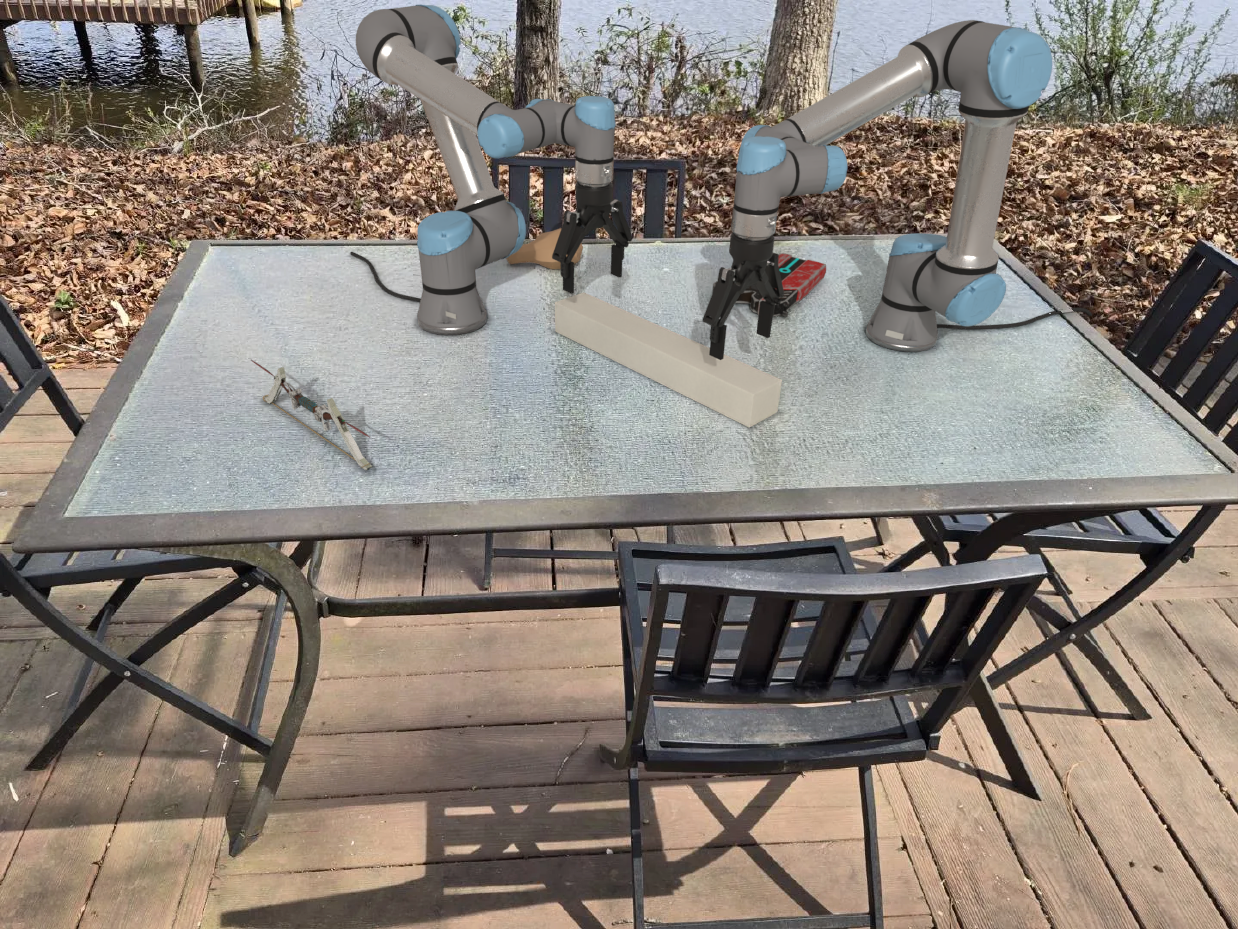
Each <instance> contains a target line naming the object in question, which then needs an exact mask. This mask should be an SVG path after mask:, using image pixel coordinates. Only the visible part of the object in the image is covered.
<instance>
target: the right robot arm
mask: <svg viewBox="0 0 1238 929" xmlns="http://www.w3.org/2000/svg"><path fill="white" fill-rule="evenodd" d="M1052 72H1053V55H1052V51H1051V48H1050V46H1049V44H1048V43H1047V42H1046V40H1045V38H1044V37H1043V36H1041V35H1040V34H1039V33H1037V32H1034V31H1030V30H1028V29H1026V28H1022V27H1021V26H1011V25H1005V24H997V23H992V22H985V21H982V20H977V19H976V20H975V19H970V20H969V19H968V20H962V21H958V22H954V23H951V24H947V25H945V26H943V27H940V28H938V29H935V30H933V31H931V32H928V33H926V34H925V35H923V36H921V37H919V38H917V39H915V40H913V41H911V42H909V43H908V44H905V45H904V46H902V47H901V48H900V49H899V51H898V53H897V56H895V58H893V59H891V60H889V61H888V62H887V61H886V63H884V64H882V65H879V67H877V68H875V69H873V70H872V71H870V72H868V73H866V74H864V75H863V76H861V77H859V78H857V79H855V80H854V81H852V82H850V83H847V85H845V86H842V87H841V88H839V89H838V90H836V91H834V92H832V93H831V94H829V95H826V96H825V97H823V98H822V99H819V100H818V101H817V102H814V103H813V104H811V105H809V106H807V107H806V108H804V109H802V110H800V111H798V112H797V113H795V114H793V115H791V116H790V117H787V118H786V119H783V120H782V121H780V122H779V123H776V124H775V125H773V126H771V125H768V124H767V125H766V124H765V125H764V124H757V125H754V126H752V127H750V128H749V129H748V130H747V131H746V132H745V133H744V135H743V137H742V139H741V143H740V147H739V152H738V158H737V163H736V176H735V185H734V186H735V189H734V197H733V206H732V217H731V222H730V223H731V225H730V229H731V234H730V237H729V246H728V248H729V249H728V252H729V255H730V256H731V258H732V264H731V266H730V267H729V268H726V267H723V266H722V267H720V268H719V269H718V275H717V283H716V286H715V288H714V291H713V293H712V292H711V296H710V299H709V301H708V304H707V306H706V309H705V312H704V314H703V317H702V322H703V323H705V324H707V325H709V326H710V331H709V342H710V343H709V348H710V352H709V355H710V356H713V357H715V358H717V359H719V360H722V359H723V358H724V354H725V347H726V336H727V327H728V325H727V324H725V323H726V321H727V319H728V317H729V315H730V314H731V313H732V310H733V308H734V306H735V305H736V304H737V303H736V301H737V299H738V297H739V296H740V294H743V293H744V291H745V290H746V288H749V287H750V286H751V285H756V286H757V288H758V290H759V292H760V293H761V295H762V297H763V299H764V300H765V301H760V307H759V315H758V314H757V315H758V316H757V324H756V332H755V334H756V335H759V336H760V337H764V338H765V339H769V338H771V334H772V333H771V332H772V325H773V318H774V316H773V315H774V307H775V304H777V305H779V304H780V303H781V299H779V297H780V298H782V297H783V296H784V290H783V285H782V280H781V276H780V271H779V266H778V260H779V255H778V254H779V253H776V252H774V247H775V233H776V228H777V220H778V211H779V207H780V201H781V198H786V197H795V196H805V195H816V194H819V195H822V194H824V193H828V192H829V193H830V192H834V191H837V190H839V189H840V188H841V187H842V186H843V185H844V183H845V181H846V179H847V174H848V173H847V171H848V167H849V166H848V160H847V156H846V154H845V152H844V150H843V149H842V148H841V147H840V146H837V145H829V144H831V143H833V142H834V141H836V140H838V139H840V138H841V137H843V136H845V135H847V134H849V133H851V132H853V131H855V130H856V129H858V128H860V127H861V126H863V125H865V124H867V123H868V122H870V121H872V120H873V119H875V118H877V117H879V116H881V115H883V114H885V113H886V112H888V111H890V110H891V109H893V108H895V107H897V106H899V105H901V104H902V103H904V102H906V101H907V100H909V99H911V98H913V97H916V98H924V97H926V96H928V95H929V94H931V93H933V92H936V91H942V90H952V91H955V92H957V93H960V95H959V96H960V98H959V103H958V114H960V115H961V116H962V118H963V119H964V121H965V122H964V127H963V134H962V141H961V145H960V146H961V147H960V154H959V159H958V165H957V166H958V167H957V172H956V178H955V183H954V184H955V185H954V191H953V197H952V203H951V210H950V215H949V221H948V226H947V227H948V228H947V234H946V236H945V235H940V234H934V233H926V232H925V233H922V232H921V233H919V232H917V233H907V234H902V235H899V236H898V237H896V238H895V239H894V241H893V242H892V245H891V250H890V253H889V254H888V261H887V266H886V271H885V277H884V282H883V288H882V292H881V293H882V294H881V297H880V302H879V303H878V305H877V307H876V309H874V312H873V313H872V314H871V316H870V319H869V320H868V322H867V325H866V330H865V335H866V337H867V339H869V340H870V341H871V342H872V343H874V344H876V345H877V346H880V347H883V348H885V349H888V350H893V351H896V352H905V353H918V352H919V353H920V352H924V351H928V350H930V349H932V348H934V347H935V346H936V345H937V340H938V336H939V335H938V333H939V332H938V329H947V330H948V329H949V330H965V331H966V330H974V331H975V330H992V329H993V330H998V329H1009V328H1010V329H1011V328H1018V327H1023V326H1027V325H1029V324H1032V323H1035V322H1037V321H1040V320H1043V319H1047V318H1049V317H1051V316H1056V315H1063V314H1064V313H1062V312H1061V311H1058V312H1056V310H1052V311H1049V312H1046V313H1043V314H1041V315H1037V316H1034V317H1032V318H1029V319H1027V320H1023V321H1019V322H1012V323H1000V324H999V323H997V324H982V325H981V323H983V322H984V321H986V320H987V319H988V318H990V317H991V316H992V315H993V314H994V313H995V312H996V311H997V310H998V309H999V307H1000V306H1001V304H1002V302H1003V300H1004V299H1005V296H1006V292H1007V283H1006V281H1005V280H1004V277H1003V276H1002V275H1000V274H999V273H997V270H998V264H999V253H997V251H996V250H995V249H994V248H993V247H994V246H993V245H994V242H995V237H996V231H997V225H998V221H999V215H1000V210H1001V205H1002V199H1003V194H1004V191H1005V190H1004V189H1005V184H1006V180H1007V173H1008V168H1009V164H1010V160H1011V152H1012V149H1013V143H1014V137H1015V134H1016V126H1017V123H1018V122H1019V120H1021V119H1022V118H1024V117H1025V116H1026V115H1027V114H1028V113H1029V108H1030V106H1032V105H1033V104H1034V103H1036V102H1037V101H1038V100H1039V99H1041V97H1042V91H1045V90H1046V89H1047V87H1048V85H1049V82H1050V79H1051V76H1052ZM734 281H735V283H736V285H738V286H736V285H734V284H733V283H734ZM775 288H776V289H775ZM1070 308H1071V309H1072V310H1073V311H1074V312H1073V313H1076V312H1077V313H1079V312H1082V313H1084V314H1086V315H1087V316H1089V317H1092V316H1093V313H1092V312H1091V311H1090V310H1089V309H1087V308H1085V307H1070ZM1049 313H1051V314H1049ZM937 314H939V315H941V316H943V317H944V318H946V320H947V321H948V322H952V323H955V324H946V323H943V324H942V323H938V321H937ZM979 324H980V325H979Z"/></svg>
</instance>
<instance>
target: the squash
mask: <svg viewBox="0 0 1238 929" xmlns="http://www.w3.org/2000/svg"><path fill="white" fill-rule="evenodd" d="M561 229H562V227H559V228H557V229H554V230H552V231H546V232H542V233H541V234H539V235H537V236H536V237H535V239H534V240H532V241H530V242H528V243H523V245H522V247H521V248H520V249H519V250H518V251H517V252H516V253H514V254H512V255H510V256H509V257H508V258H505V260H506V262H508V264H509V265H514V264H524V263H525V264H527V263H531V264H538V265H540V266H541V267H543V268H547V269H550V270H561V268H560V262H558V261H556V260H554V259H552V255H553V252H554V249H555V246H556V243H557V240H558V237H559V234H560V232H561ZM583 249H584V245H583V243H582V242H581V244H580V246H579V248H578V250H577V251H576V253H575V255H574V257H573V259H572V260H571V262H574V265H575V264H578V263H579V262H580V261H581V258H582V253H583ZM566 256H567V255H566Z"/></svg>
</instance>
